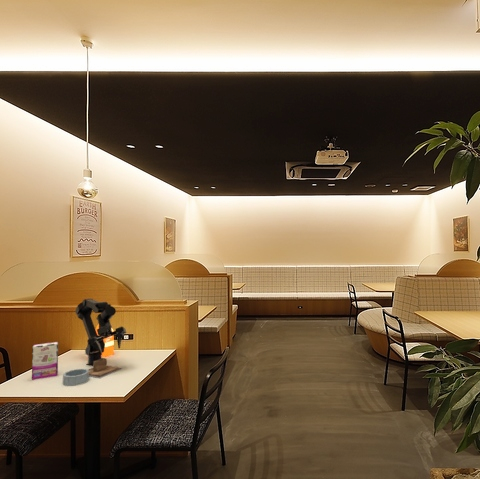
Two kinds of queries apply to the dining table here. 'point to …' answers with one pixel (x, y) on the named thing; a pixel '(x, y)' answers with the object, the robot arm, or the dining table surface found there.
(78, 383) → the bowl
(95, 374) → the walnut lid
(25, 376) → the dining table surface
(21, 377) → the dining table surface
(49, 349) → the candy bar box
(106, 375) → the mat
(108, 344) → the orange juice
